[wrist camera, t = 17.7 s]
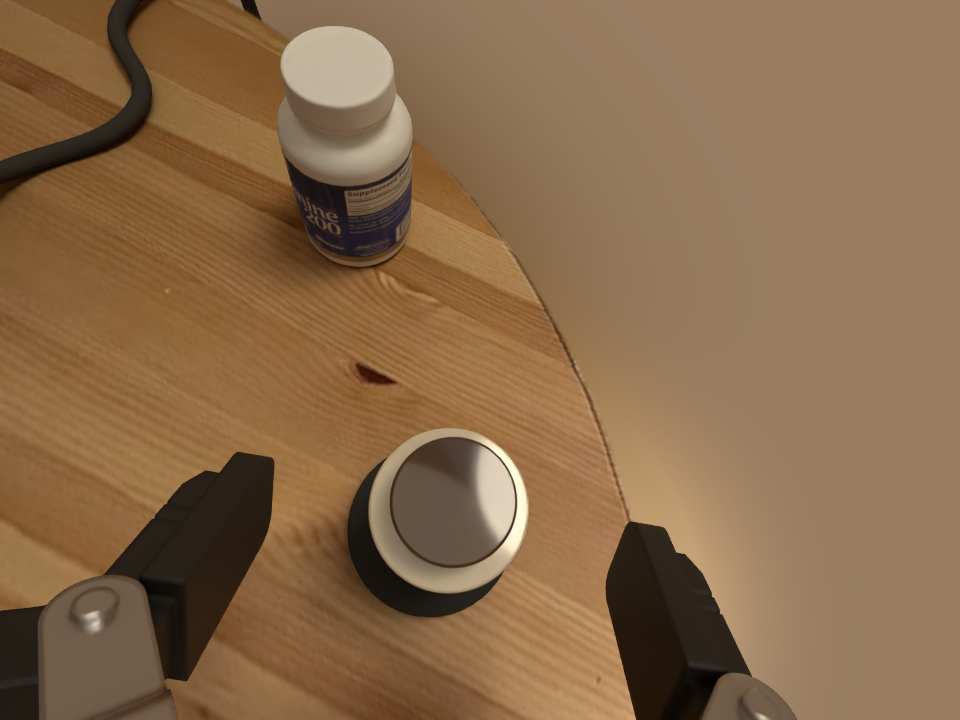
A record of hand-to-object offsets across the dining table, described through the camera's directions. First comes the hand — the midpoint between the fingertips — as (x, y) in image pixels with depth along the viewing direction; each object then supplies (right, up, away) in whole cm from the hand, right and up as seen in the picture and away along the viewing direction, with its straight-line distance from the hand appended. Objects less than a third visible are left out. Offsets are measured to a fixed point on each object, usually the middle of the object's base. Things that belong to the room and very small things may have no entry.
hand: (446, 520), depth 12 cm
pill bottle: (-6, +11, +16) cm, 20 cm away
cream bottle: (-1, -4, +10) cm, 11 cm away
